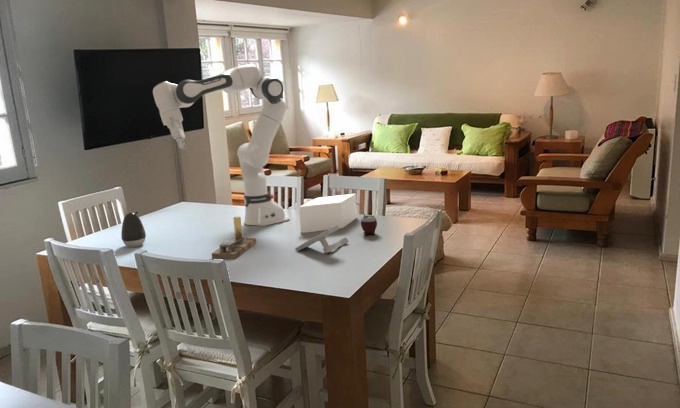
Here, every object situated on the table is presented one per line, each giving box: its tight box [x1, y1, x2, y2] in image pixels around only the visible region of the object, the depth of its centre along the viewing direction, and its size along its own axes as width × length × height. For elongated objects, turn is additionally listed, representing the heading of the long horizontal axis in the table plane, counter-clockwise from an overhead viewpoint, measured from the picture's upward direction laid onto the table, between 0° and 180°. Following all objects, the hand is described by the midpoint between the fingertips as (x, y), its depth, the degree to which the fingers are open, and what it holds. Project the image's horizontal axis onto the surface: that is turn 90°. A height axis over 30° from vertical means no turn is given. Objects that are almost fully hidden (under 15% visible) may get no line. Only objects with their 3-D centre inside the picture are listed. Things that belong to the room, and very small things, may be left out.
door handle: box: [295, 225, 349, 254], centre depth 233 cm, size 18×8×20 cm
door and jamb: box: [211, 237, 257, 260], centre depth 238 cm, size 22×10×5 cm, turn 166°
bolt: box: [232, 216, 245, 246], centre depth 239 cm, size 10×3×10 cm, turn 166°
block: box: [298, 193, 358, 234], centre depth 269 cm, size 18×35×12 cm, turn 131°
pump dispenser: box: [121, 211, 147, 248], centre depth 251 cm, size 10×10×15 cm
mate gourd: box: [355, 201, 378, 237], centre depth 249 cm, size 8×8×15 cm
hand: (183, 148), depth 254 cm, fingers open, 8 cm apart
